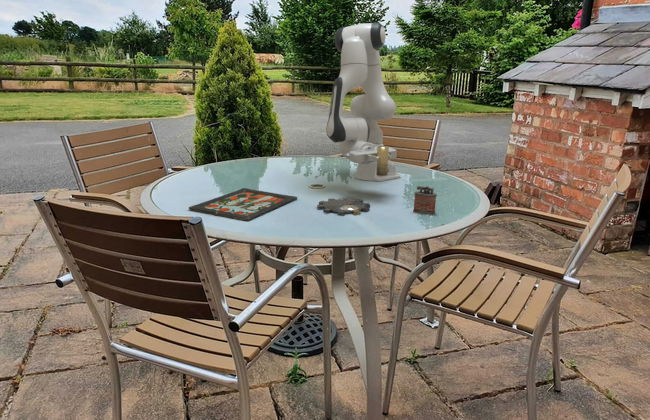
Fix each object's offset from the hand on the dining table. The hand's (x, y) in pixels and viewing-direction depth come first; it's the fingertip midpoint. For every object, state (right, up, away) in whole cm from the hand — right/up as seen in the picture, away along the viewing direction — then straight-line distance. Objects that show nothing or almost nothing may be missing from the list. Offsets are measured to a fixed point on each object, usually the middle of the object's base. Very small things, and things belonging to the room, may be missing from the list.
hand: (383, 158), depth 188 cm
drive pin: (0, -6, +3) cm, 7 cm away
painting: (-54, -19, -2) cm, 57 cm away
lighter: (+14, -21, -9) cm, 27 cm away
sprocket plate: (-16, -19, -4) cm, 25 cm away
